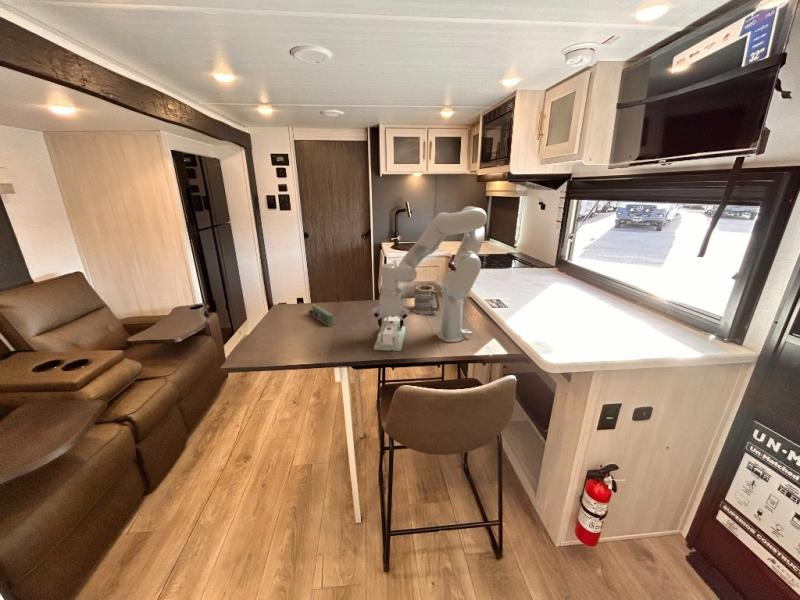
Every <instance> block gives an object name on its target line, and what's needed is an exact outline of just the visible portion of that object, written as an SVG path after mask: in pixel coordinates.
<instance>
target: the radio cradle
mask: <svg viewBox="0 0 800 600" xmlns="http://www.w3.org/2000/svg"><path fill="white" fill-rule="evenodd" d="M388 318H389V317H385V318H384V319H383V325H382V326H381V327H380V330H379V332H378V334H377V339H376V340H375V343H374V346H373V350H375V351H376V350H377V351H391V350H393V351H396V352H402V350H403V344H404V341H405V334H406V330H407V327H406V326H402V328H400V318H399V321H398V326H397V329H396V332H395V335H394V340H393V344H392V345H391V344H383V332H384V329H385V326H386V323H387V321H388Z"/></svg>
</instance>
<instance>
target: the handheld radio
mask: <svg viewBox="0 0 800 600" xmlns="http://www.w3.org/2000/svg"><path fill="white" fill-rule="evenodd" d="M311 306H312V307H311V309H309V310H308V312H309V313H310V314H312V316H313V317H314V319H316V320H318V321H320V322H321V323H323V324H324V325H326V326H328V327H329V328H331V327H334V314H332V313H331V312H329V311H327V310H325V309H324V308H322V307H320V306H319V305H317V304H314V303H313V304H311Z"/></svg>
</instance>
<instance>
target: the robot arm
mask: <svg viewBox="0 0 800 600" xmlns="http://www.w3.org/2000/svg"><path fill="white" fill-rule="evenodd" d="M487 221H488V215H487V213H486V211H485V210H484V209H483V208H481V207H477V206H469V205H468V206H465V207H464V208H463V209H462V210H460V211H457V212H451V213H450V212H443V211H442V212H440V213H438V214H437V215H436V216H435V217H434V218H433V220H432V221H431V222H430V224H429V225H428V227H426V230H425V231H424V232H423V233H422V234H421V236H420V238H419V239H418V240H417V241H416V242H415V243H414V244H413V246H412V247H410V249H409V250H408V251H407V253H406V254H405V255H404V256H403V258H402V259H401V261H400V262H399V264H398V265H397V264H395V263H384V264H383V265H382V266H381V267H380V269H381V271H380V273H381V275H380V276H381V293H380V295H379V302H378V303H379V305H378V306H375V307H373V308H372V309H371V312H372V314H373V316H374V317H376V319H377V325H378V327H379V328H381V327H382V326H383V322H382V321H383V320H382V319H383V318H382V317H389V316H398V317H399V318H400V328H402V327H404V321H405V319H406V318H407V317H408V315H409V314H410V310H409V309H408V308H406V307H404V306H403V304H402V303H403V302H402V296H401V293H403V289H401V288H400V287H399V283H411V282H414V281H415V280H416V278H417V275H418V273H417V270H416V269H417V267H418V266H419V265H420V264H421V262H422V261H423V259H425V258H426V257H428V256H430V255H432V254H434V253H435V252H436V251H437V249H438V248H439V247H440V245H441V244H442V242H443V241H444V240H445V239H446V237H448V236H454V235H455V236H456V235H461V234H463V237H462V240H461V242H460V245H459V247H458V248H457V251H456V253H455V255H454V257H453V265H454V267H455V268H456V269H455V270H452V271H449V272H447V273H445V274H444V276H442V280H441V290H442V295H441V298H442V299H441V315H440V317H441V318H440V319H441V321H440V330H439V331H437V333H436V334H437V336H436V337H437V338H438V339H439V340H440V341H443V342H446V343H459V342H461V341H463V340H464V339H465V336H472V331H471V330H470V331H469V329H466V328H465V329H464V328H463V326H462V324H463V309H464V298H466V297H467V296H468V295H469V293H470V292H471V290H472V288H473V286H474V284H475V282H476V280H477V278H478V276H479V274H480V272H481V268H482V261H481V258H480V257H479V254H480V251H481V248H482V245H483V243H484V240H485V234H486V233H485V231H486V229H485V225H486V224H487ZM377 311H378V312H377ZM402 312H404V314H403V313H402Z"/></svg>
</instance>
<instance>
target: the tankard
mask: <svg viewBox="0 0 800 600" xmlns="http://www.w3.org/2000/svg"><path fill="white" fill-rule="evenodd" d="M413 295H414V297H415V298H414V300H413V302H414V305H413V307H412V308H413V309H412V310H413V311H412V312H413V313H415V312H416V313H415V314H417V313H418V314H417V315H420V314H426V315H427V316H429V314H430V315H431V314H435V313H436V312H440V310H441V309H442V301H441V298H440V297H441V296H442V289H440V290H437V291H436V290H435V286H433V285H430V284H420V285H417V286H415V290H414V294H413ZM440 295H441V296H440ZM435 301H436V307H435ZM434 312H435V313H434ZM426 315H425V316H426Z"/></svg>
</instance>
